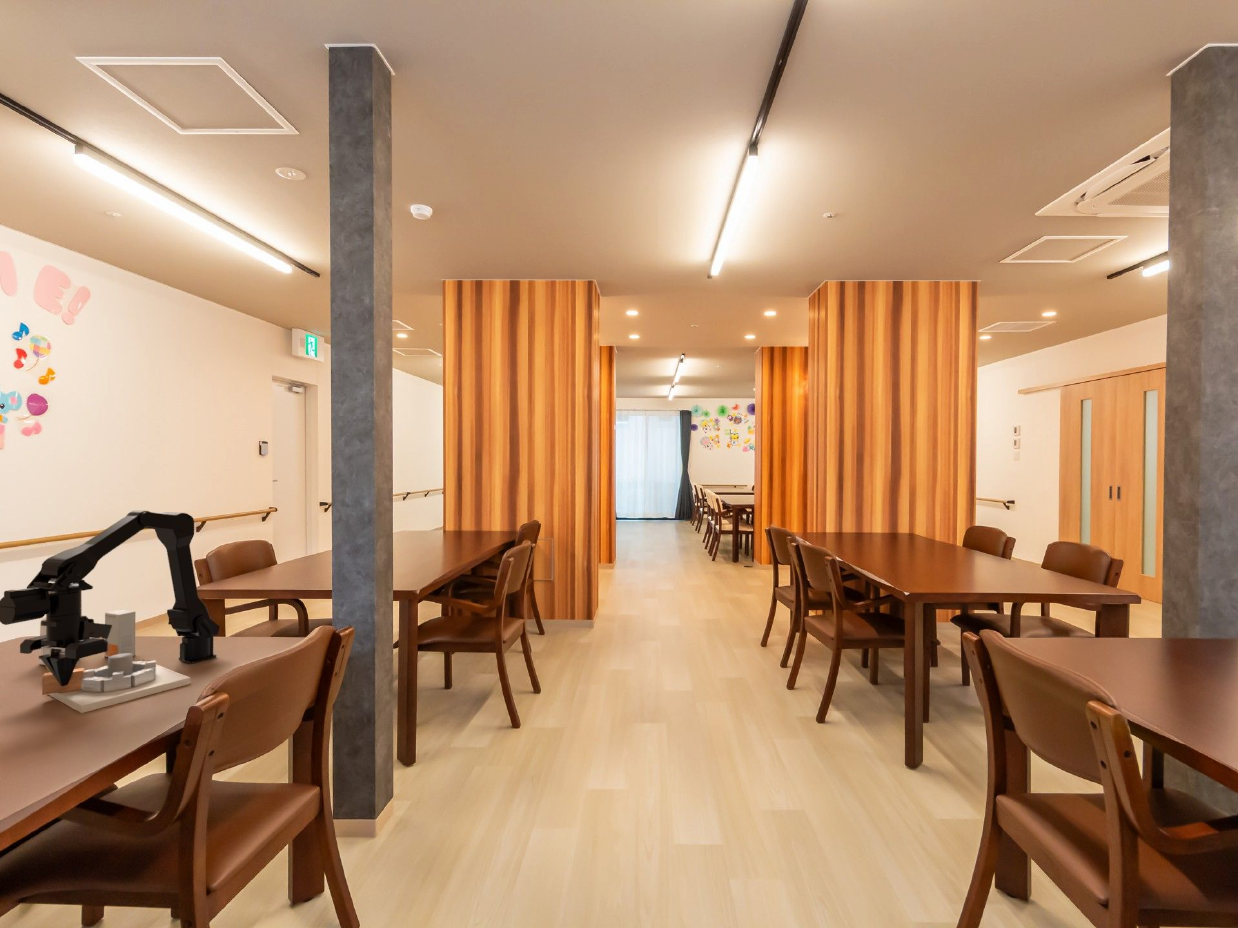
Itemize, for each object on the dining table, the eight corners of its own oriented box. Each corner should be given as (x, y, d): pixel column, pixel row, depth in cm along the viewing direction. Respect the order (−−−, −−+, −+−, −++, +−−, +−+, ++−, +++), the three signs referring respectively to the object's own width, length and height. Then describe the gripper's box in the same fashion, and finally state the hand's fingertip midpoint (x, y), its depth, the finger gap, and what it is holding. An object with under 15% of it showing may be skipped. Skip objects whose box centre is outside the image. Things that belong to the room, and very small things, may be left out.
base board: (151, 668, 154) (152, 638, 154) (189, 683, 143) (190, 651, 143) (47, 693, 137) (47, 660, 137) (81, 712, 126) (81, 676, 126)
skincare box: (103, 657, 163) (104, 612, 163) (121, 652, 167) (121, 608, 167) (118, 659, 160) (118, 614, 161) (136, 655, 165) (136, 610, 165)
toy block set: (156, 668, 149) (156, 651, 149) (154, 683, 138) (154, 666, 138) (48, 684, 138) (49, 666, 138) (37, 702, 127) (37, 683, 127)
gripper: (133, 607, 137) (134, 677, 137) (76, 604, 143) (77, 670, 143) (77, 619, 127) (77, 694, 126) (18, 614, 132) (18, 686, 132)
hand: (64, 685), depth 132 cm, fingers closed
